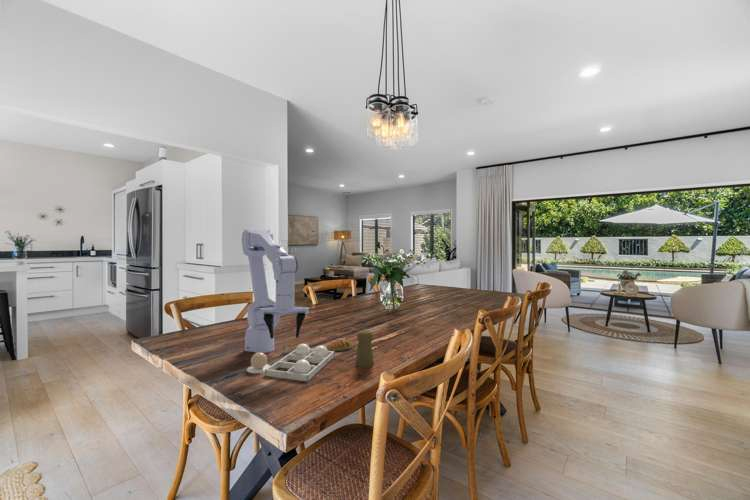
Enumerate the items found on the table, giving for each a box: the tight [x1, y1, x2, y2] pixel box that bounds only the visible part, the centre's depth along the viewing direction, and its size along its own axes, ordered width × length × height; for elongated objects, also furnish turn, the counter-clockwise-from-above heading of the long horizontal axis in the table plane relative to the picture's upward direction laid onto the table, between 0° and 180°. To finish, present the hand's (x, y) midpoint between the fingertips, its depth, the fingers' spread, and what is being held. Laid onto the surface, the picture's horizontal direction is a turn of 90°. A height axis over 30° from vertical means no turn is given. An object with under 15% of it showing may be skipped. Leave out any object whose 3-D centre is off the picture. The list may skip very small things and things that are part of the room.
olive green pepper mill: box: [355, 329, 375, 368], centre depth 104 cm, size 6×6×11 cm
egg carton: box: [264, 348, 336, 382], centre depth 101 cm, size 14×20×2 cm
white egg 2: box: [294, 359, 311, 374], centre depth 94 cm, size 5×5×5 cm
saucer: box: [246, 363, 271, 374], centre depth 98 cm, size 7×7×1 cm
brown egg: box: [250, 352, 268, 369], centre depth 98 cm, size 5×5×5 cm
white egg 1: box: [295, 343, 311, 356], centre depth 108 cm, size 5×5×5 cm
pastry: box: [326, 337, 354, 352], centre depth 119 cm, size 9×7×4 cm
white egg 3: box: [313, 345, 328, 358], centre depth 107 cm, size 5×5×5 cm
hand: (284, 337), depth 101 cm, fingers open, 7 cm apart
